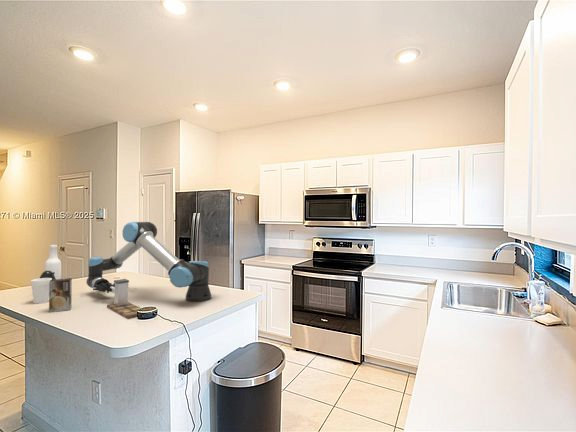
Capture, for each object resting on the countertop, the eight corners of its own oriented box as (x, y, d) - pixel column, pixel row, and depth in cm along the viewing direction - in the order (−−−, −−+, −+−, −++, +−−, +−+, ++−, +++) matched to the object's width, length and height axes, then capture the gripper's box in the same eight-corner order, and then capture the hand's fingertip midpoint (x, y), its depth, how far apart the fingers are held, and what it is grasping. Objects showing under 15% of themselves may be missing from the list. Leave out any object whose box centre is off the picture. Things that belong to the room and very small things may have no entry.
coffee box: (72, 307, 166) (72, 277, 166) (70, 310, 161) (70, 279, 161) (51, 309, 162) (51, 279, 162) (48, 312, 156) (48, 281, 156)
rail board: (106, 307, 166) (106, 304, 166) (126, 303, 174) (126, 300, 174) (127, 319, 148) (128, 315, 148) (148, 314, 156) (148, 311, 156)
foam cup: (26, 303, 172) (27, 280, 173) (44, 299, 181) (45, 277, 181) (37, 305, 169) (37, 281, 169) (55, 301, 177) (55, 278, 178)
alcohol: (53, 290, 201) (54, 245, 201) (40, 290, 201) (41, 245, 202) (64, 287, 210) (64, 244, 210) (51, 287, 210) (52, 244, 210)
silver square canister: (113, 304, 166) (114, 280, 166) (124, 302, 170) (124, 278, 170) (117, 306, 162) (118, 281, 162) (128, 304, 166) (129, 280, 167)
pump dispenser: (45, 297, 186) (46, 272, 186) (32, 296, 188) (32, 271, 188) (61, 293, 196) (61, 269, 196) (48, 292, 198) (48, 268, 198)
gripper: (112, 288, 192) (127, 295, 176) (88, 292, 182) (102, 299, 166) (112, 276, 192) (127, 282, 176) (88, 279, 182) (102, 285, 167)
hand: (115, 290), depth 171 cm, fingers closed
